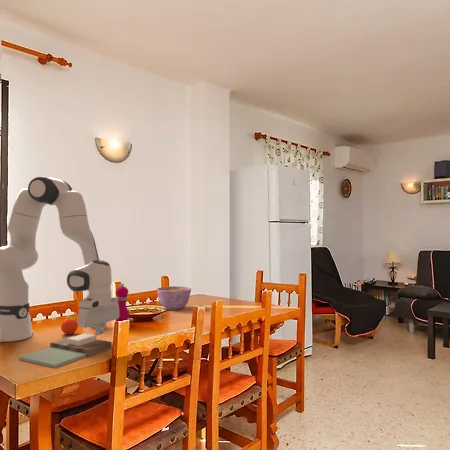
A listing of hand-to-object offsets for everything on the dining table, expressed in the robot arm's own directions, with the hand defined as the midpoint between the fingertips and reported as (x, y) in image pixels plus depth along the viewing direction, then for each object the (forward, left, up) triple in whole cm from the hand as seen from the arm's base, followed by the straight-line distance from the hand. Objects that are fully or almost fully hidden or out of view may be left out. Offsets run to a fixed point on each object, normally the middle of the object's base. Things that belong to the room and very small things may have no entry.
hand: (99, 334), depth 170 cm
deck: (0, -10, -3) cm, 10 cm away
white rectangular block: (0, -9, -1) cm, 9 cm away
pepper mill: (-13, +28, -4) cm, 31 cm away
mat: (0, -23, -3) cm, 23 cm away
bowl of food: (-14, +74, -4) cm, 75 cm away
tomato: (-21, +4, -4) cm, 22 cm away
